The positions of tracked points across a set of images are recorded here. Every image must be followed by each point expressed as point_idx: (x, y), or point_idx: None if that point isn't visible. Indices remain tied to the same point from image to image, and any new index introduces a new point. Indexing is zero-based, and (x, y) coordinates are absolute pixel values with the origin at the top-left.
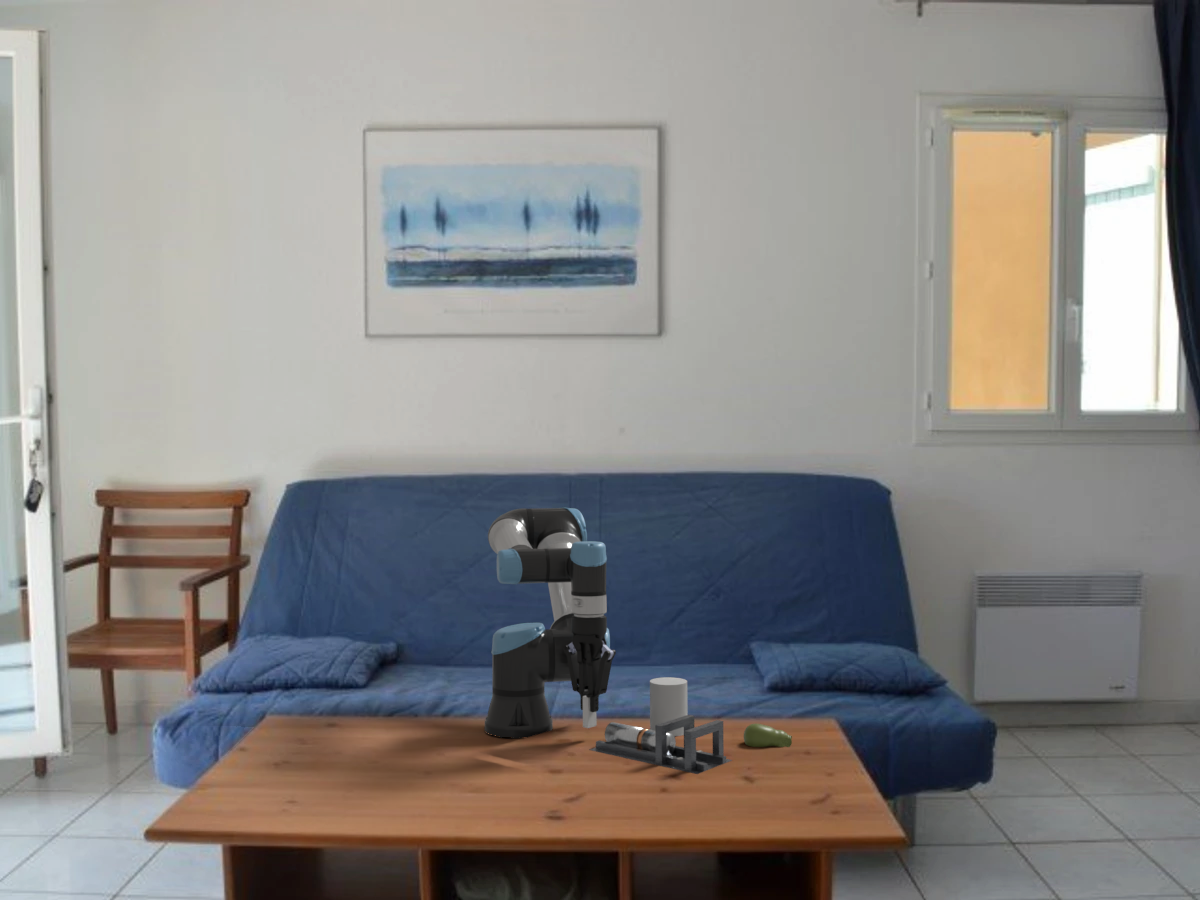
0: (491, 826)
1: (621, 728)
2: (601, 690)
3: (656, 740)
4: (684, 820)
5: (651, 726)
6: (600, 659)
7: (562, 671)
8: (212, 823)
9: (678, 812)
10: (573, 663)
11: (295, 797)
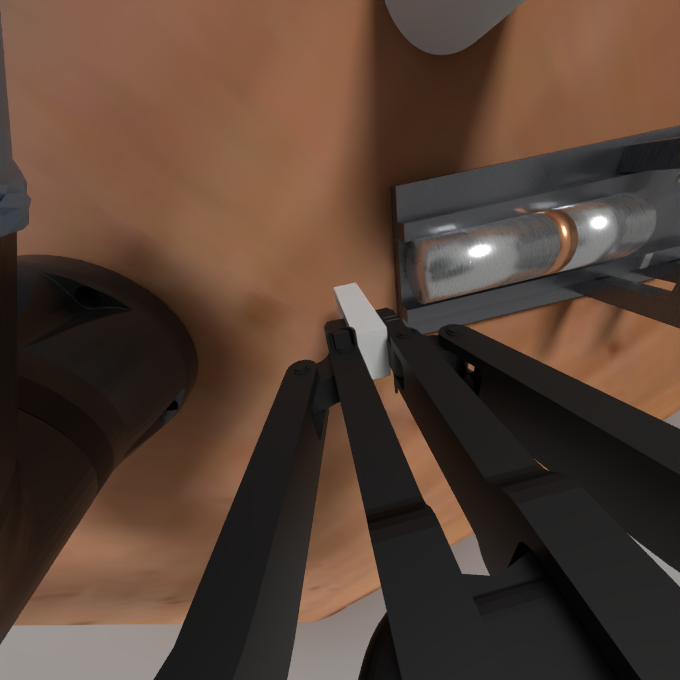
0: None
1: (483, 286)
2: (467, 363)
3: (635, 311)
4: (664, 391)
5: (437, 21)
6: (591, 508)
7: (11, 427)
8: (328, 609)
9: (653, 382)
10: (300, 562)
11: (305, 587)
